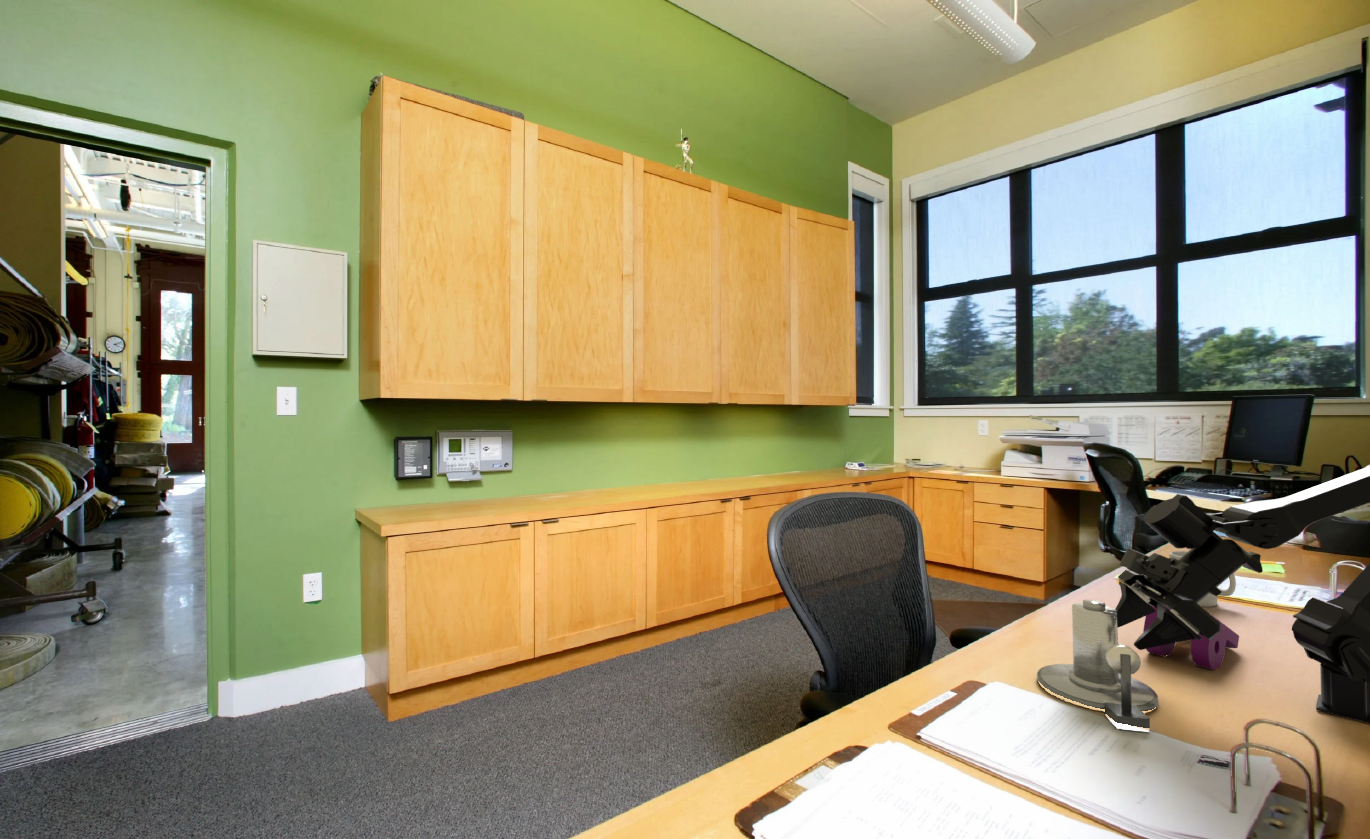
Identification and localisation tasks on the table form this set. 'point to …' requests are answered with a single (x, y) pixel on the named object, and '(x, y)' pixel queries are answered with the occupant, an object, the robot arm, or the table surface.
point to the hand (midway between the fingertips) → (1122, 636)
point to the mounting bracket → (1200, 645)
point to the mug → (1211, 599)
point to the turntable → (1061, 685)
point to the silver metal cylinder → (1094, 646)
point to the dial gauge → (1125, 686)
